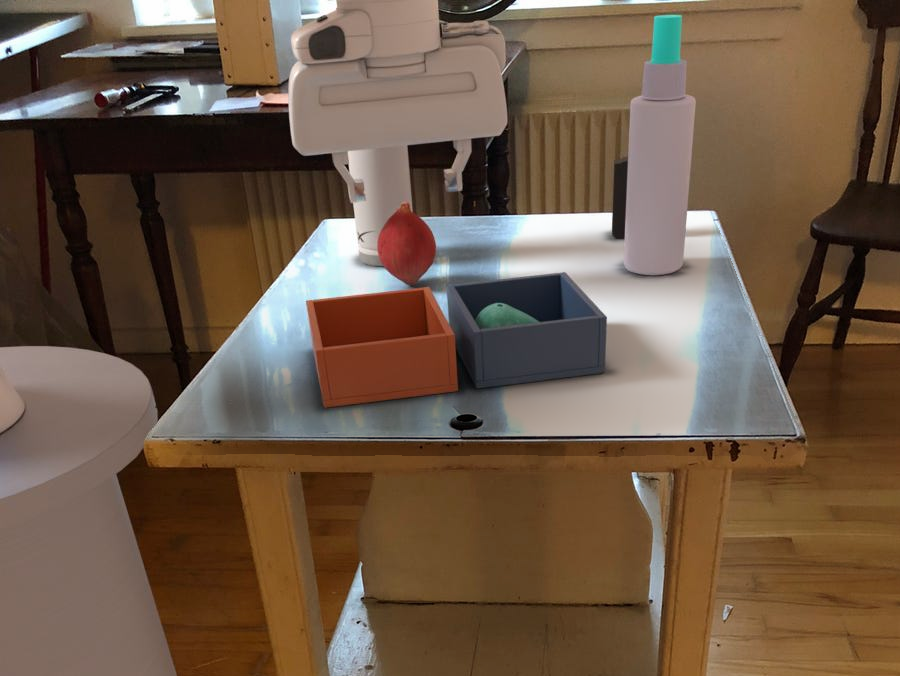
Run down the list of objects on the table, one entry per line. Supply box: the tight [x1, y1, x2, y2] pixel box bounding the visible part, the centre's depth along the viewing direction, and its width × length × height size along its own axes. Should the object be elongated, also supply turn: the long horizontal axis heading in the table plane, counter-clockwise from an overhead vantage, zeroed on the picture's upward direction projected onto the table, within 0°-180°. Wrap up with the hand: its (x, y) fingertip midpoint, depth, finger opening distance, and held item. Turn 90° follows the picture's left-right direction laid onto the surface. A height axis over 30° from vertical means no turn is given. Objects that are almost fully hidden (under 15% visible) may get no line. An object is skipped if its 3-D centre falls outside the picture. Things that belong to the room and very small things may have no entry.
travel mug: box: [348, 145, 414, 267], centre depth 101 cm, size 6×7×20 cm
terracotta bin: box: [305, 286, 459, 409], centre depth 80 cm, size 11×12×5 cm
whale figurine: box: [475, 303, 539, 329], centre depth 81 cm, size 6×7×4 cm
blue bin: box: [446, 271, 608, 389], centre depth 82 cm, size 11×12×5 cm
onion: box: [377, 202, 437, 286], centre depth 97 cm, size 6×6×8 cm
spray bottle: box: [623, 14, 697, 276], centre depth 94 cm, size 6×6×22 cm
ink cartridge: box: [611, 156, 628, 240], centre depth 108 cm, size 5×2×8 cm, turn 84°
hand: (406, 195), depth 94 cm, fingers open, 8 cm apart
